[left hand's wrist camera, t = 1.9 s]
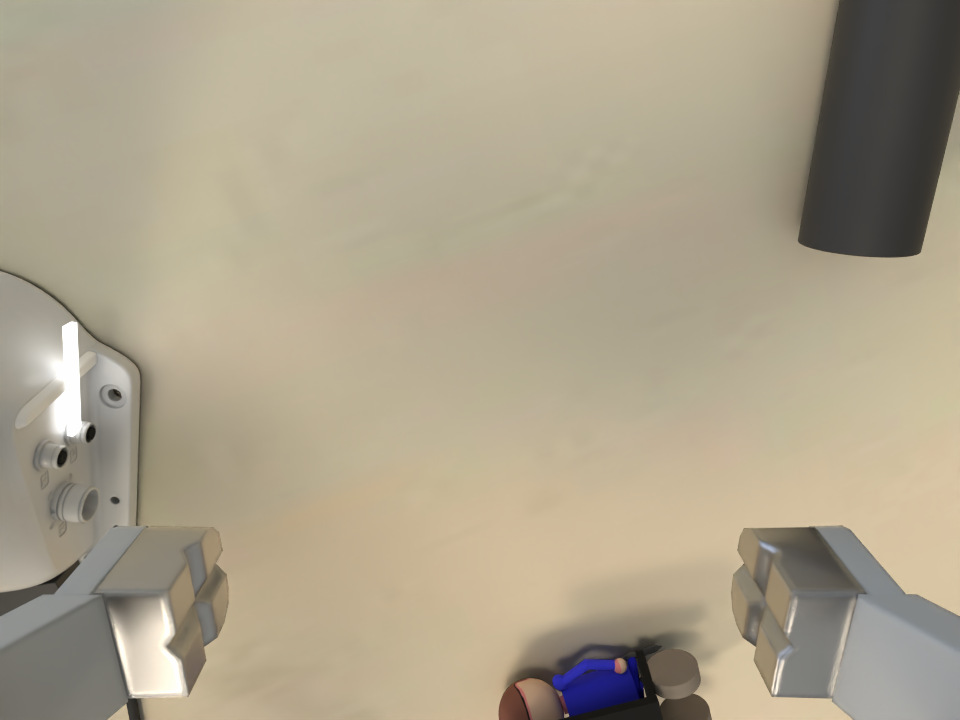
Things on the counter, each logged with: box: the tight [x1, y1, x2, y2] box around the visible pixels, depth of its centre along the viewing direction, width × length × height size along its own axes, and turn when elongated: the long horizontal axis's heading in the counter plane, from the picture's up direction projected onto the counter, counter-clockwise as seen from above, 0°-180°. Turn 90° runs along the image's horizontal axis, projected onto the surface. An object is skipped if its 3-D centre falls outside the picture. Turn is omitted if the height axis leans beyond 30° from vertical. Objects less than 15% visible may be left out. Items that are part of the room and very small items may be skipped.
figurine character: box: [499, 645, 712, 720], centre depth 50 cm, size 7×8×15 cm
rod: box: [798, 0, 960, 257], centre depth 34 cm, size 22×6×6 cm, turn 0°
